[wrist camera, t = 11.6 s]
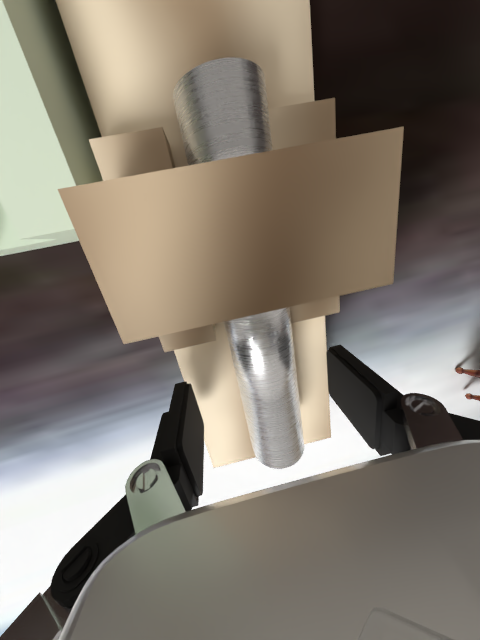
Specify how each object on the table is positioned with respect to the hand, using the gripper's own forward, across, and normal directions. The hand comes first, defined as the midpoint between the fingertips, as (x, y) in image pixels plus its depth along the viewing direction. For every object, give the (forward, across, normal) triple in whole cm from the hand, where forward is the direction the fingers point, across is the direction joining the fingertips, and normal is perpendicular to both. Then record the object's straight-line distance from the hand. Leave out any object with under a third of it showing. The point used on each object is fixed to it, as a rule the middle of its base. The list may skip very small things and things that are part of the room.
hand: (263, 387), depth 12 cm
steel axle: (+1, 0, -4) cm, 4 cm away
